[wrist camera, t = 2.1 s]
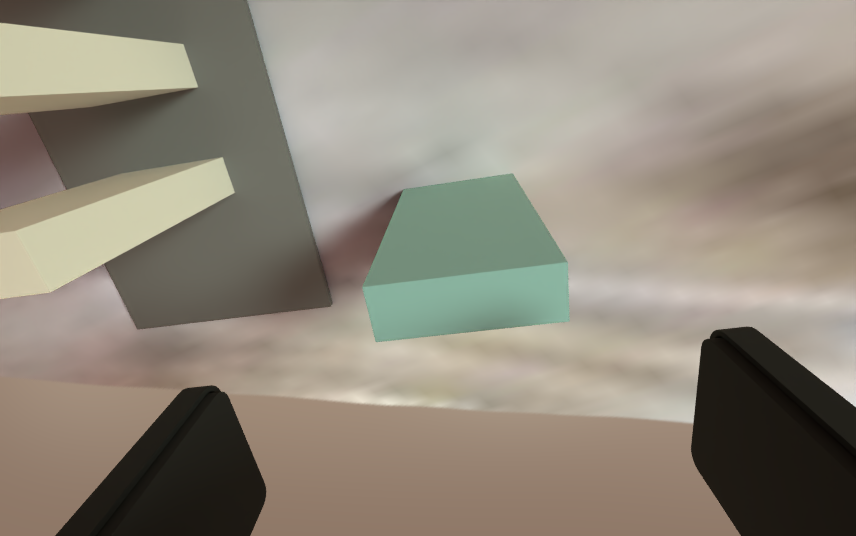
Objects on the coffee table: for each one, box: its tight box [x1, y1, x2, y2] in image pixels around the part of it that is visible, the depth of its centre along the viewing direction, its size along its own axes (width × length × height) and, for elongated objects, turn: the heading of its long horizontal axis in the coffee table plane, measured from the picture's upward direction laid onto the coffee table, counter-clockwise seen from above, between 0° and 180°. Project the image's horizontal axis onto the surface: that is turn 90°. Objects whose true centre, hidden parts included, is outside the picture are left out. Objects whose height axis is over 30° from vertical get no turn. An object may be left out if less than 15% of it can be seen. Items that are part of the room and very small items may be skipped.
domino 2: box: [0, 157, 235, 299], centre depth 17 cm, size 2×6×11 cm, turn 99°
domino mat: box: [0, 0, 332, 329], centre depth 20 cm, size 26×12×1 cm, turn 9°
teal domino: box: [362, 174, 569, 342], centre depth 17 cm, size 2×6×11 cm, turn 99°
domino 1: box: [0, 23, 198, 115], centre depth 15 cm, size 2×6×11 cm, turn 99°
